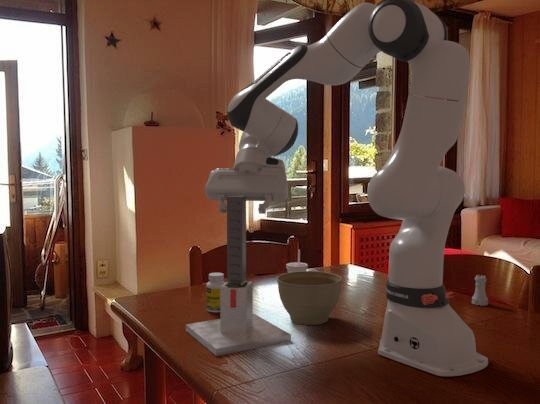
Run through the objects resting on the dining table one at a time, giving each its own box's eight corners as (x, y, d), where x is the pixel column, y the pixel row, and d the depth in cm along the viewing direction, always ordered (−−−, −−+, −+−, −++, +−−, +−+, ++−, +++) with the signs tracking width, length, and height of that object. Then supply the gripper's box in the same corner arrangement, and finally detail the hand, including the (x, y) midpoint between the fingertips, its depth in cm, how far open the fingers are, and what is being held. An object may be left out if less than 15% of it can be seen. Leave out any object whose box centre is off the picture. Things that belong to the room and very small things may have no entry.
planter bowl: (322, 308, 140) (323, 268, 139) (353, 325, 125) (353, 281, 124) (267, 314, 135) (267, 273, 134) (292, 333, 120) (292, 287, 119)
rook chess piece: (485, 302, 147) (486, 274, 146) (490, 306, 142) (491, 277, 142) (469, 301, 147) (470, 273, 146) (473, 306, 143) (474, 277, 142)
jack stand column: (246, 300, 119) (246, 195, 117) (242, 304, 115) (242, 197, 113) (231, 299, 120) (230, 195, 118) (226, 303, 116) (225, 196, 114)
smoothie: (308, 299, 148) (308, 251, 147) (286, 299, 149) (286, 251, 147) (307, 294, 155) (307, 247, 154) (285, 293, 155) (286, 247, 154)
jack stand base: (253, 319, 130) (253, 269, 129) (291, 341, 115) (291, 284, 114) (185, 330, 121) (185, 277, 120) (216, 356, 106) (215, 294, 105)
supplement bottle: (202, 311, 137) (202, 274, 136) (213, 306, 142) (213, 271, 141) (219, 314, 135) (219, 277, 134) (230, 308, 139) (230, 273, 139)
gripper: (208, 160, 129) (196, 202, 120) (289, 160, 125) (282, 203, 117) (213, 177, 134) (202, 219, 125) (291, 178, 130) (285, 221, 121)
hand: (241, 211), depth 121 cm, fingers open, 8 cm apart
